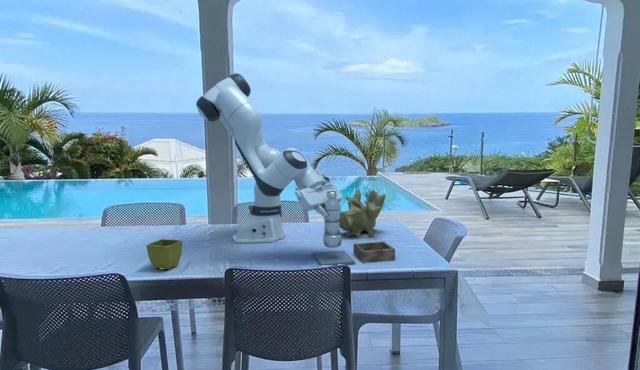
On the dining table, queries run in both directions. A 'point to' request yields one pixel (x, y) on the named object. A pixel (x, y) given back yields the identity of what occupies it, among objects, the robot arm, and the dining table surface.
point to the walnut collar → (374, 252)
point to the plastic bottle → (332, 221)
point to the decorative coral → (361, 213)
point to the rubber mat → (333, 258)
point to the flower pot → (164, 253)
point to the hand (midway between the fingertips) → (333, 214)
